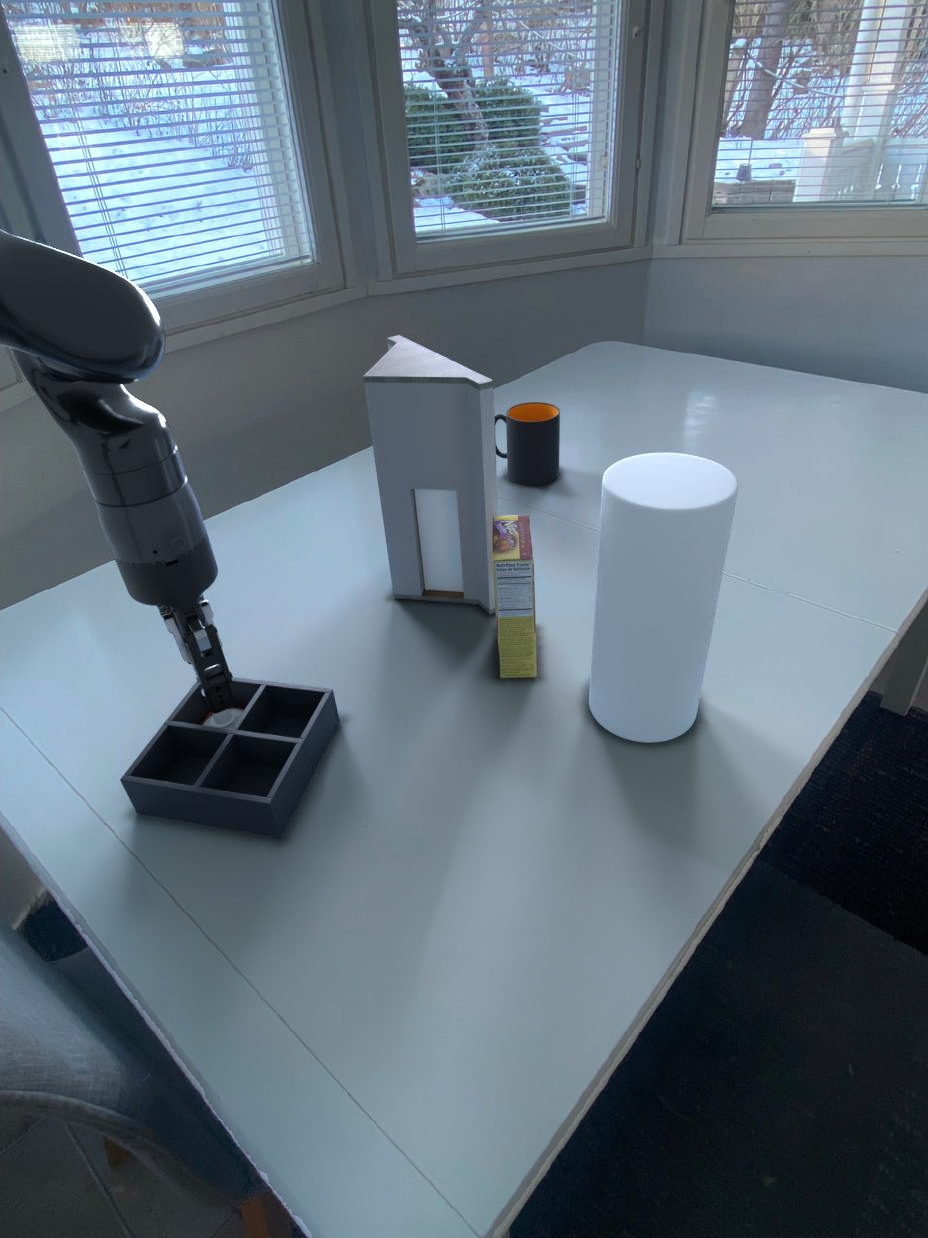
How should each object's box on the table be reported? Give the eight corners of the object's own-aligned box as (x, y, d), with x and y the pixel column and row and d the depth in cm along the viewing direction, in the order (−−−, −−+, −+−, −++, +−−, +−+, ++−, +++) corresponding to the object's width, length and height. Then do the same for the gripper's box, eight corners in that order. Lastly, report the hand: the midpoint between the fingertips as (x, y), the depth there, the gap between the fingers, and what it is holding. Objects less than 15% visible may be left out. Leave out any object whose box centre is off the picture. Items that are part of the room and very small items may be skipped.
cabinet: (501, 609, 88) (493, 380, 72) (431, 638, 85) (406, 402, 68) (420, 539, 103) (399, 334, 87) (358, 560, 100) (323, 351, 83)
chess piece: (227, 707, 76) (201, 632, 70) (262, 722, 74) (238, 646, 68) (191, 738, 73) (161, 661, 67) (227, 755, 71) (199, 677, 65)
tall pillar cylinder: (658, 659, 79) (687, 442, 65) (719, 723, 71) (768, 492, 56) (570, 686, 77) (579, 466, 62) (622, 756, 69) (647, 522, 54)
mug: (504, 455, 124) (503, 395, 118) (568, 468, 119) (569, 406, 112) (478, 474, 119) (475, 412, 113) (543, 489, 113) (543, 425, 107)
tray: (280, 838, 63) (269, 804, 61) (136, 813, 67) (119, 779, 64) (340, 722, 75) (333, 688, 72) (214, 705, 78) (202, 673, 75)
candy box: (496, 629, 85) (492, 514, 76) (533, 628, 85) (533, 512, 76) (496, 680, 78) (491, 559, 69) (537, 679, 78) (537, 558, 69)
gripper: (96, 516, 64) (154, 659, 73) (128, 590, 54) (191, 744, 63) (182, 491, 67) (226, 632, 76) (228, 558, 57) (273, 710, 66)
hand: (210, 683), depth 70 cm, fingers open, 8 cm apart
